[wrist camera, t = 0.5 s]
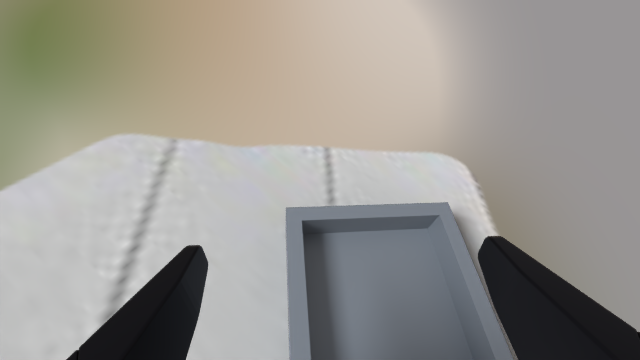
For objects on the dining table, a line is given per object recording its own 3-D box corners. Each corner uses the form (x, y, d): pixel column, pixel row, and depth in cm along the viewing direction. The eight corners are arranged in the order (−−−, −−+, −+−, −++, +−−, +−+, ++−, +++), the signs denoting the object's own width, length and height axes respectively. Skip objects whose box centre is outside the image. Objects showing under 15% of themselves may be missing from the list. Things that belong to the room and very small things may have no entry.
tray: (497, 404, 19) (533, 406, 17) (291, 433, 18) (293, 441, 15) (431, 221, 28) (447, 202, 25) (285, 227, 26) (285, 207, 23)
